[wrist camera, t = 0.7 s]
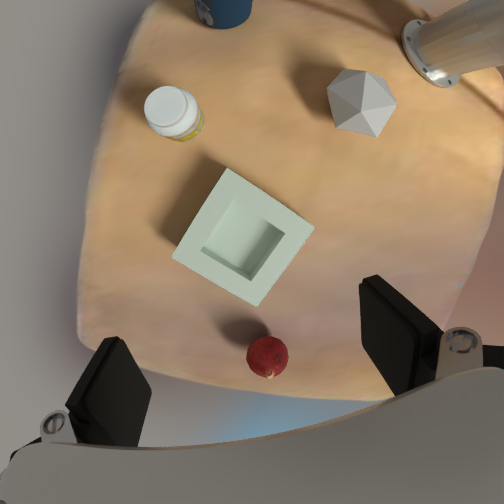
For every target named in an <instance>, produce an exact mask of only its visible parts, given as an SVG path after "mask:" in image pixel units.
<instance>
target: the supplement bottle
mask: <svg viewBox="0 0 504 504" xmlns="http://www.w3.org/2000/svg"><path fill="white" fill-rule="evenodd" d="M144 113H145V116H146V119H147V122H148V124H149V126H150V128H151V129H152V130H153V131H154V132H156V133H157V134H159V135H162V136H164V137H166V138H169V139H172V140H175V141H179V142H184V141H188V140H191V139H193V138H194V137H196V136H197V135H198V134H199V132H200V131H201V129H202V127H203V124H204V114H203V112H202V110H201V108H200V106H199V105H198V103H197V101H196V100H195V98H194V96H193V95H192V94H191V93H190V92H189V91H187V90H185V89H183V88H179V87H173V86H162V87H159V88H157V89H155V90H154V91H153V92H151V93H150V95H149V96H148V97H147V99H146V101H145V105H144Z"/></svg>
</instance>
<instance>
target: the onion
mask: <svg viewBox="0 0 504 504" xmlns="http://www.w3.org/2000/svg"><path fill="white" fill-rule="evenodd" d="M246 360H247V363H248V365H249V367H250V369H251V370H252V371H253V372H254V373H255V374H257V375H259V376H262V377H266V378H267V379H271V378H272V377H274V376H277V375H278V374H280V373H281V372H282V371H283V370H284V369H285V367H286V365H287V362H288V351H287V347H286V346H285V344H284V343H283V342H282V341H281V340H280V339H278V338H275V337H272V336H266V337H261V338H258V339H257V340H255V341H254V342H253V343H251V345H250V346H249V348H248V350H247V356H246Z"/></svg>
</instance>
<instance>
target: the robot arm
mask: <svg viewBox="0 0 504 504" xmlns="http://www.w3.org/2000/svg"><path fill="white" fill-rule="evenodd" d="M401 39H402V44H403V47H404V50H405V53H406V55H407V57H408V59H409V60H410V62H411V64H412V65H413V66H414V68H415V69H416V70H417V71H418V72H419V74H420V75H421V76H422V77H424V78H425V79H426V80H427V81H429V82H430V83H432V84H433V85H436V86H438V87H442V88H448V87H452V86H454V85H456V84H457V83H458V81H459V79H460V76H461V74H464V73H468V72H472V71H477V70H481V69H486V68H490V67H495V66H500V65H504V0H469V1H467V2H465V3H462V4H460V5H459V6H457V7H454V8H453V9H451V10H449V11H447V12H445V13H443V14H441V15H439V16H438V17H436V18H434V19H432V20H430V21H428V22H427V21H424V20H419V19H416V20H412V21H409V22H408V23H407V24H405V26H404V27H403V29H402V34H401ZM359 297H360V315H361V340H362V345H363V347H364V349H365V351H366V352H367V354H368V355H369V357H370V358H371V360H372V361H373V363H374V364H375V366H376V367H377V369H378V370H379V372H380V373H381V375H382V376H383V378H384V380H385V381H386V383H387V384H388V386H389V387H390V389H391V390H392V392H393V394H394V395H395V397H393V398H391V399H388V400H386V401H383V402H381V403H378V404H375V405H373V406H370V407H367V408H364V409H361V410H359V411H356V412H353V413H350V414H347V415H344V416H341V417H338V418H335V419H331V420H328V421H325V422H321V423H318V424H314V425H310V426H307V427H303V428H299V429H295V430H290V431H286V432H281V433H277V434H272V435H267V436H263V437H256V438H250V439H244V440H238V441H231V442H223V443H215V444H204V445H192V446H174V447H138V443H139V439H140V435H141V431H142V427H143V424H144V420H145V416H146V412H147V409H148V405H149V402H150V398H151V394H152V392H151V388H150V386H149V384H148V382H147V381H146V379H145V377H144V376H143V374H142V372H141V371H140V369H139V367H138V365H137V364H136V362H135V360H134V358H133V357H132V355H131V353H130V351H129V349H128V347H127V345H126V344H125V342H124V340H122V339H120V338H119V337H117V336H116V337H109V338H105V339H104V340H103V341H102V343H101V344H100V346H99V348H98V349H97V351H96V352H95V354H94V356H93V357H92V359H91V361H90V362H89V364H88V365H87V367H86V369H85V371H84V372H83V374H82V376H81V378H80V379H79V381H78V382H77V384H76V386H75V388H74V389H73V391H72V393H71V395H70V396H69V398H68V400H67V402H66V404H65V406H66V407H67V408H68V409H69V411H70V412H69V414H67V413H66V412H65V411H61V410H57V411H54V412H51V413H50V414H48V415H47V416H46V417H45V418H44V419H43V421H42V422H41V425H40V433H41V437H39V438H38V439H36V440H34V441H32V442H31V443H29V444H27V445H25V446H24V447H22V448H20V449H18V450H16V451H14V452H13V453H12V454H11V457H10V462H9V464H8V466H7V468H6V469H5V470H4V471H3V472H2V473H1V474H0V504H504V346H491V345H482V340H481V337H480V335H479V334H478V333H477V332H476V331H474V330H472V329H470V328H466V327H455V328H451V329H449V330H447V331H446V332H445V333H444V332H443V331H442V330H441V329H440V328H439V327H438V326H437V325H436V324H435V323H434V322H433V321H431V320H430V319H429V318H428V317H427V316H426V315H425V314H424V313H422V312H421V311H420V310H419V309H418V308H417V307H416V306H414V305H413V304H412V303H411V302H410V301H409V300H408V299H406V298H405V297H404V296H403V295H402V294H400V293H399V292H398V291H397V290H396V289H395V288H393V287H392V286H391V285H390V284H389V283H387V282H386V281H385V280H384V279H383V278H381V277H380V276H379V275H373V276H370V277H367V278H364V279H363V281H362V283H360V284H359Z"/></svg>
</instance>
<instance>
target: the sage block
mask: <svg viewBox="0 0 504 504" xmlns="http://www.w3.org/2000/svg"><path fill="white" fill-rule="evenodd" d="M314 228H315V227H314V226H313V225H311V224H310V223H309V222H308V221H306V220H305V219H303V218H302V217H301V216H299V215H298V214H296V213H295V212H294V211H292V210H291V209H289V208H288V207H286V206H285V205H283V204H282V203H281V202H279V201H278V200H276V199H275V198H273V197H272V196H270V195H269V194H267V193H266V192H264V191H263V190H261V189H260V188H258V187H257V186H255V185H254V184H252V183H251V182H249V181H248V180H246V179H245V178H243V177H242V176H240V175H239V174H237V173H235V172H234V171H232V170H231V169H229V168H227V169H226V170H225V172H224V173H223V175H222V176H221V178H220V179H219V181H218V182H217V184H216V185H215V187H214V188H213V190H212V192H211V193H210V195H209V196H208V198H207V199H206V201H205V202H204V204H203V206H202V207H201V209H200V210H199V212H198V214H197V215H196V217H195V218H194V220H193V222H192V223H191V225H190V227H189V228H188V230H187V232H186V233H185V235H184V237H183V238H182V240H181V242H180V243H179V245H178V247H177V248H176V250H175V252H174V253H173V255H172V258H174V259H175V260H177V261H178V262H180V263H182V264H183V265H185V266H187V267H188V268H190V269H192V270H193V271H195V272H197V273H198V274H200V275H202V276H203V277H205V278H207V279H209V280H210V281H212V282H214V283H215V284H217V285H219V286H221V287H222V288H224V289H226V290H227V291H229V292H231V293H233V294H234V295H236V296H238V297H240V298H241V299H243V300H245V301H247V302H249V303H250V304H252V305H254V306H256V307H257V306H258V305H259V303H260V302H261V301H262V299H263V298H264V297H265V295H266V294H267V293H268V291H269V290H270V289H271V287H272V286H273V285H274V283H275V282H276V281H277V279H278V278H279V277H280V275H281V274H282V273H283V271H284V270H285V268H286V267H287V266H288V264H289V263H290V262H291V260H292V259H293V258H294V256H295V255H296V253H297V252H298V251H299V249H300V248H301V246H302V245H303V244H304V242H305V241H306V240H307V238H308V237H309V235H310V234H311V233H312V231H313V230H314Z"/></svg>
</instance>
